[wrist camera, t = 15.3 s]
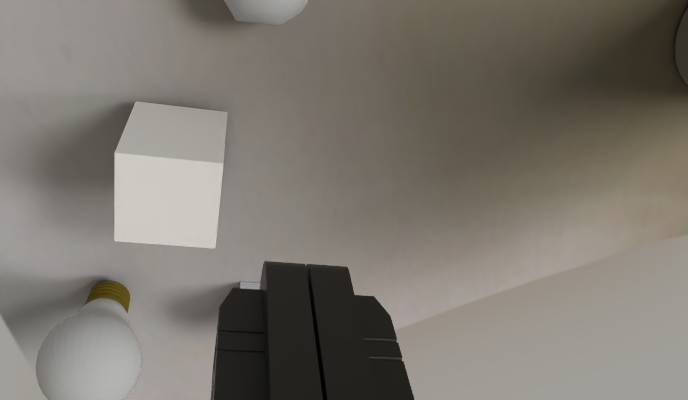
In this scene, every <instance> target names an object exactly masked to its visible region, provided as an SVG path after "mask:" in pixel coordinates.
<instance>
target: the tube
mask: <svg viewBox="0 0 688 400" xmlns="http://www.w3.org/2000/svg"><path fill="white" fill-rule="evenodd" d="M308 1H309V0H224V2H225V3H226V5H227V7H228V8H229V10H230V12H231V13H232V15H233V17H234V18H235V20H236V21H240V22H250V23H260V24H272V25H282V24H283V23H285V22H287V21H288V20H290V19H291V18H293V17H295V16H296V15H298V14H300V13H301V12H302V11H303V9H304V7H305V6H306V4H307V2H308Z"/></svg>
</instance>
